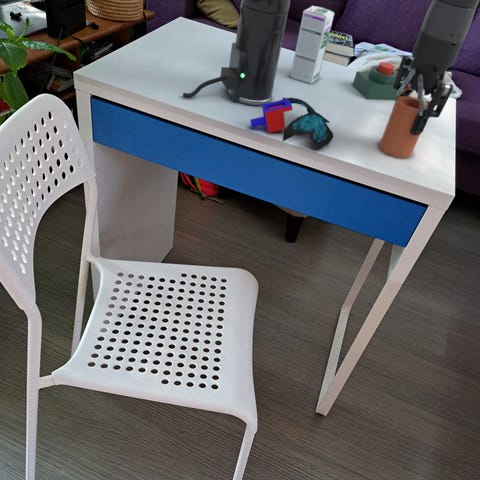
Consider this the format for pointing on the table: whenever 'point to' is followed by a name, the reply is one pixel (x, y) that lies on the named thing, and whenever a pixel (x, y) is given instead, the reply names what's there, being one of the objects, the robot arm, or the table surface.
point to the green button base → (376, 84)
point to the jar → (401, 128)
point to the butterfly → (309, 126)
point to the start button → (385, 68)
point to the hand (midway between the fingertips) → (405, 125)
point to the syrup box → (311, 43)
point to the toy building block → (273, 115)
